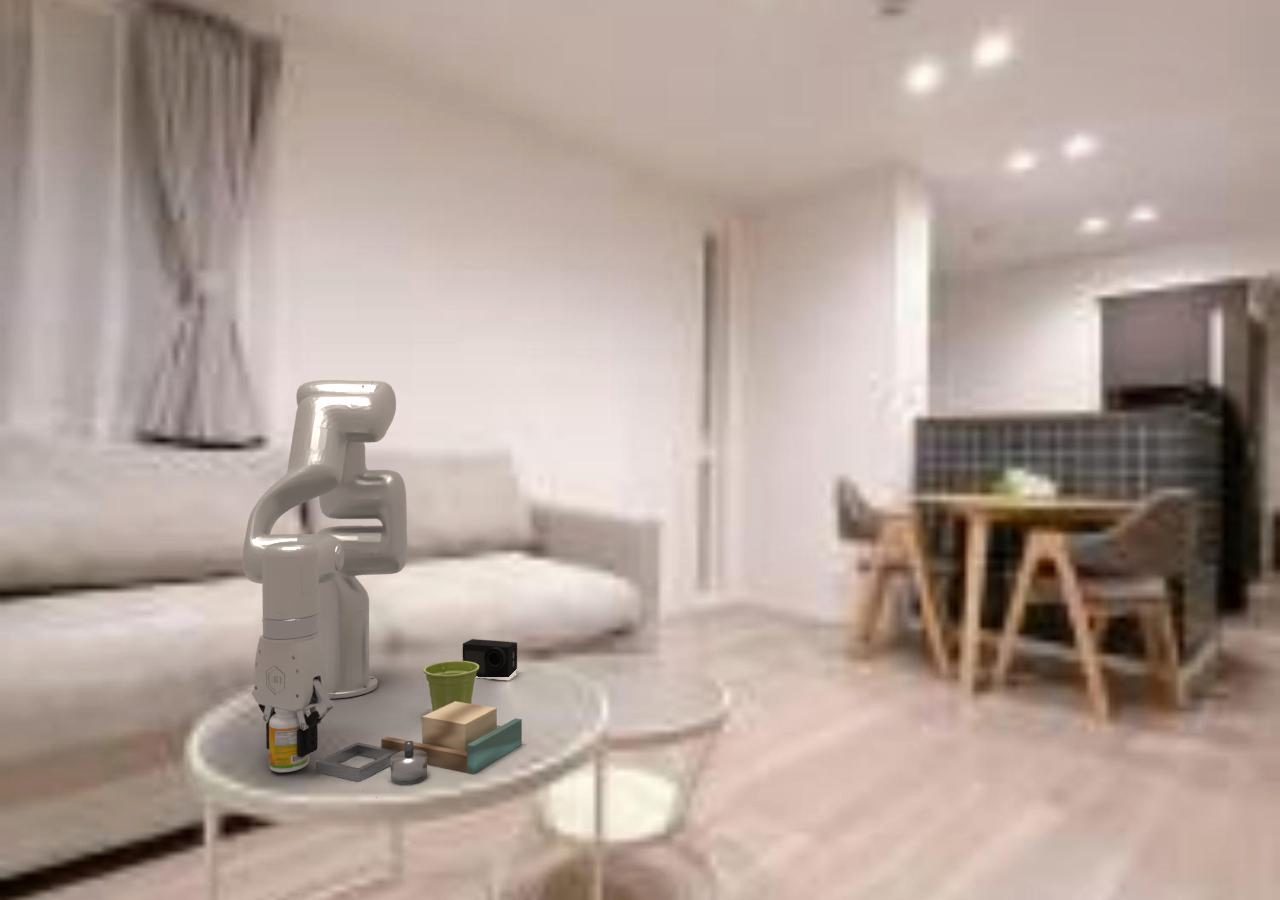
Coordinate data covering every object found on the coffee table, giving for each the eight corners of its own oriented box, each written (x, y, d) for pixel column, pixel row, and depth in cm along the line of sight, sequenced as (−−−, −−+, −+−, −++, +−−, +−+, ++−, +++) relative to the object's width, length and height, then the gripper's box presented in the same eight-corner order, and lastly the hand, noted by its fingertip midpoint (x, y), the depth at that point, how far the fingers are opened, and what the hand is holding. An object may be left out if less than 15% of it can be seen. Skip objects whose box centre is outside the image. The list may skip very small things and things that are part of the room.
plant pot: (423, 711, 142) (423, 662, 142) (477, 706, 144) (476, 658, 144) (423, 729, 133) (423, 677, 133) (481, 723, 135) (481, 672, 135)
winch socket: (315, 771, 115) (315, 737, 115) (357, 752, 123) (357, 719, 123) (402, 791, 108) (402, 755, 108) (441, 769, 116) (441, 735, 116)
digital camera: (458, 678, 162) (458, 644, 162) (471, 671, 167) (471, 638, 167) (505, 683, 159) (505, 648, 159) (517, 675, 164) (517, 641, 164)
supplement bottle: (277, 758, 119) (277, 693, 118) (314, 757, 119) (314, 692, 119) (263, 773, 113) (263, 706, 113) (302, 772, 114) (302, 705, 113)
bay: (381, 754, 121) (381, 715, 121) (434, 728, 133) (434, 692, 133) (474, 774, 114) (473, 732, 114) (521, 744, 126) (521, 706, 126)
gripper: (227, 626, 116) (228, 749, 117) (314, 639, 109) (315, 770, 109) (270, 615, 123) (271, 731, 123) (354, 627, 116) (355, 750, 116)
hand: (292, 748), depth 116 cm, fingers closed on supplement bottle, 5 cm apart
